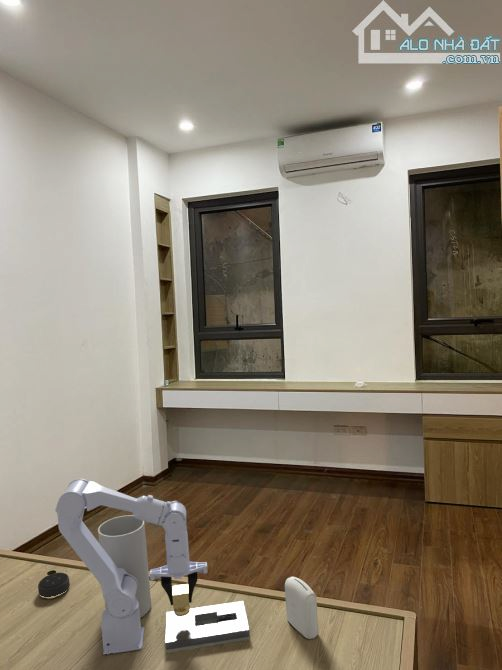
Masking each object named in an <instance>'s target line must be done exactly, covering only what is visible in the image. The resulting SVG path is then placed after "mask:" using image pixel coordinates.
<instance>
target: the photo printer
mask: <svg viewBox="0 0 502 670" xmlns="http://www.w3.org/2000/svg"><path fill="white" fill-rule="evenodd" d="M284 594H285V595H284V597H285V608H286V611H285V612H286V619H287V621H288V622H289V624H291V625H292V627H293V628H295V630H296V631H298V632H299V633H300V634H301V635H302V636H303V637H305V638H306V639H309V640H311V639H312V640H313V639H315V638H316V637H317V636H318V634H319V621H318V618H319V617H318V616H319V615H318V605H317V596H316V594H315V592H314V591H313V590H312V588H311V587H310V586H309V585H308V584H307V583H306V582H305V581H304V580H302V579H301V578H298V577H296V576H290V577H288V578H287V579H286V580H285V583H284Z"/></svg>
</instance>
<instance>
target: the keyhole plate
mask: <svg viewBox="0 0 502 670" xmlns="http://www.w3.org/2000/svg"><path fill="white" fill-rule="evenodd" d="M247 616H248V615H247V612H246V607H245V603H244V600H239V601H233V602H226V603H219V604H213V605H212V604H211V605H205V606H200V607H192V608H191V607H190V612H189V613H188V614H187V615H184V616H177V615H175V613H174V610H172V611H167V612H166V618H165V620H166V621H165V635H164V636H165V639H164V644H165V645H164V647H165V654H168V653H170V654H171V653H175V652H181V651H187V650H193V649H194V650H195V649H201V648H205V647H207V648H208V647H212V646H214V647H215V646H218V645H226V644H231V643H238V642H239V643H240V642H243V641H244V642H245V641H250V639H251V637H250V636H251V635H250V626H249V622H248V617H247Z"/></svg>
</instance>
